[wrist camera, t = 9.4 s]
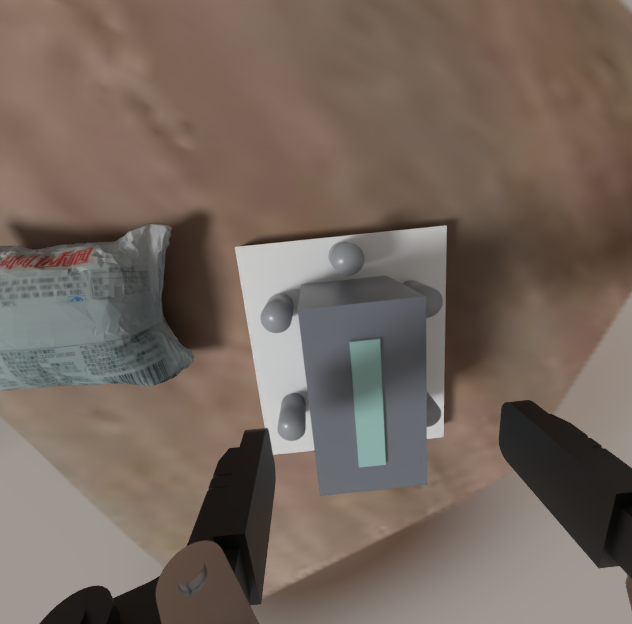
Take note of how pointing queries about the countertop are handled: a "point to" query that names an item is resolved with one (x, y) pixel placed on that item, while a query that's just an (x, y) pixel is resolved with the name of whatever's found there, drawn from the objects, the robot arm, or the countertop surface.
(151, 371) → the packaged food
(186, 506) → the countertop surface
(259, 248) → the pegged holder plate
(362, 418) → the block
